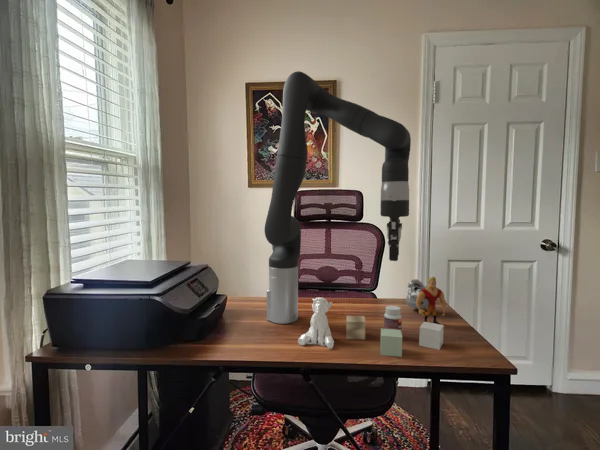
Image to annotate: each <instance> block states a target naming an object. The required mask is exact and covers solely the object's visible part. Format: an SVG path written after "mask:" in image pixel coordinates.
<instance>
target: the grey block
mask: <svg viewBox="0 0 600 450" xmlns="http://www.w3.org/2000/svg"><path fill="white" fill-rule="evenodd" d="M440 324H441V323H440ZM440 324H436V323H433V322H429V321H427V322H424V321H423V322H422V324H420V326H419V333H418V334H419V338H418V339H419V341H418V346H419V347H424V348H429V349H434V350H437V351H438V350H439V351H440V349H441V347H442V345H444V326H445V325H444V324H441V325H440Z"/></svg>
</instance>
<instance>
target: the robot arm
mask: <svg viewBox="0 0 600 450" xmlns="http://www.w3.org/2000/svg"><path fill="white" fill-rule="evenodd" d="M282 90H283V91H282V110H281V112H282V115H281V123H280V124H281V126H280V133H279V141H278V148H277V154H276V159H275V166H274V167H275V170H274V177H273V183H272V190H271V191H272V192H271V197H270V202H269V207H268V211H267V216H266V218H265V224H264V235H265V239H266V240H267V242H268V243H269V244H270V245H272V246H274V248H273V251H272V253H271V255H270V256H269V258H268V289H267V290H266V321H270V322H271V323H274V324H285V325H286V324H292V323H295V322H297V321H298V319H299V259H300V256H301V248H302V247H301V245H302V244H301V243H302V230H301V229H302V228H301V224H300V222H299V220H298V218H297V217H295V216H293V215H292V211H293V205H294V201H295V198H296V196H297V193H298V191H299V190H300V188H301V185H302V183H303V180H304V177H305V174H306V170H307V162H308V142H307V136H306V129H305V127H306V125H305V121H306V113H307V111H308V112H311V113H314V114H315V113H316V114H319V115H320V116H321V115H322V116H324V117H327V118H329V119H331V120H333V121H334V122H336V123H338V124H339V125H340V126H343V127H345V128H346V129H348V130H350V131H352V132H354V133H356V134H358V135H359V136H362V137H364V138H368V139H370V140H372V141H373V142H376V143H377V144H378V145H380V146H382V147H384V149H385V150H384V151H385V153H384V162H383V163H382V165H381V166H382V167H381V185H380V186H381V187H380V216H381V217H384V218H385V217H388V218H389V221H388V222H387V223H386V231H387V232H386V233H387V234H386V238H387V240H388V241H387V244H388V249H389V253H388V254H389V255H388V260H389V261H390V262H397V261H398V260H399V254H400V242H401V238H402V230H403V223H402V222H401V220H400V218H401V217H402V218H403V217H405V218H406V217H409V215H410V185H409V184H410V183H409V179H410V178H409V173H410V172H409V169H410V168H409V161H410V153H411V146H412V145H411V144H412V143H411V142H412V140H411V139H412V138H411V133H410V131H409V130H408V129H407V128H406V126H404V124H403V123H401V122H398V121H396V120H394V119H392V118H389V117H386V116H383V115H380V114H378V113H377V112H374V111H373V110H370V109H368V108H367V107H364V106H362V105H360V104H358V103H354V102H353V101H349V100H346V99H342V98H340V97H337V96H335V95H334V94H332V93H330V92H329V91H327V90H326V89H325V88H323V87H322V86H320V85H319V84H318V82H317V81H316V80H314V79H313V78H312V77H311V76H309V75H308V74H306V73H305V72H302V71H300V70H299V71H297V70H296V71H294V72H292V73H290V75H289V76H288V77H287V78H286V80H285V81H284V84H283V89H282Z"/></svg>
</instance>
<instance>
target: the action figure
mask: <svg viewBox="0 0 600 450" xmlns="http://www.w3.org/2000/svg"><path fill="white" fill-rule="evenodd" d="M427 283H428V285H426V286H427V287H426V288H425V289H423V290H421V291H420V292H419V294H418V296H417V300H416V305H417V307H418V309H419V310H418V314H419V316H421V317H422V318H424V321H423V322H428V318H429V317H430V314H431V312H432V317H433V321H432V323H434V324H440V325H442V324H441V323H440V322H438V320H437V318H438V315H437V311H436V309H437V308H436V302H437V300H438V303H439V304H440V306H441V308H442V314H441V317H445V316H446V306H447V305H446V304H447V302H446V299H445V294H444V291H442V290H441V289H440V288H439V287H437V279H436V277H435V276H431V277H429V278H428V282H427ZM423 299H427V300H428V302H429V304H428V307H427V312H426V311H425V310H424V309H421V303H422V301H423Z"/></svg>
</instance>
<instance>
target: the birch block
mask: <svg viewBox="0 0 600 450" xmlns="http://www.w3.org/2000/svg"><path fill="white" fill-rule="evenodd" d="M345 328H346V329H345V331H346V334H345V335H346V340H361V341H363V340H366V318H365V315H346V327H345Z"/></svg>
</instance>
